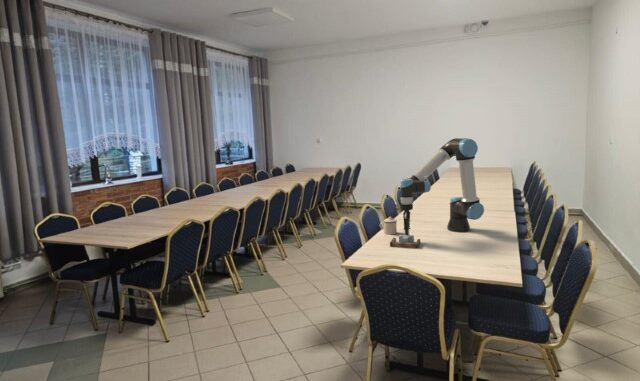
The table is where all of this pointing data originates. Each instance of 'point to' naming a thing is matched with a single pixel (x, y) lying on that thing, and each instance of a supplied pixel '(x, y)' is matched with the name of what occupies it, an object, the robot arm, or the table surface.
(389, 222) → the teacup with lid
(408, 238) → the slate t block
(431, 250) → the table surface
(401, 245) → the walnut bay
